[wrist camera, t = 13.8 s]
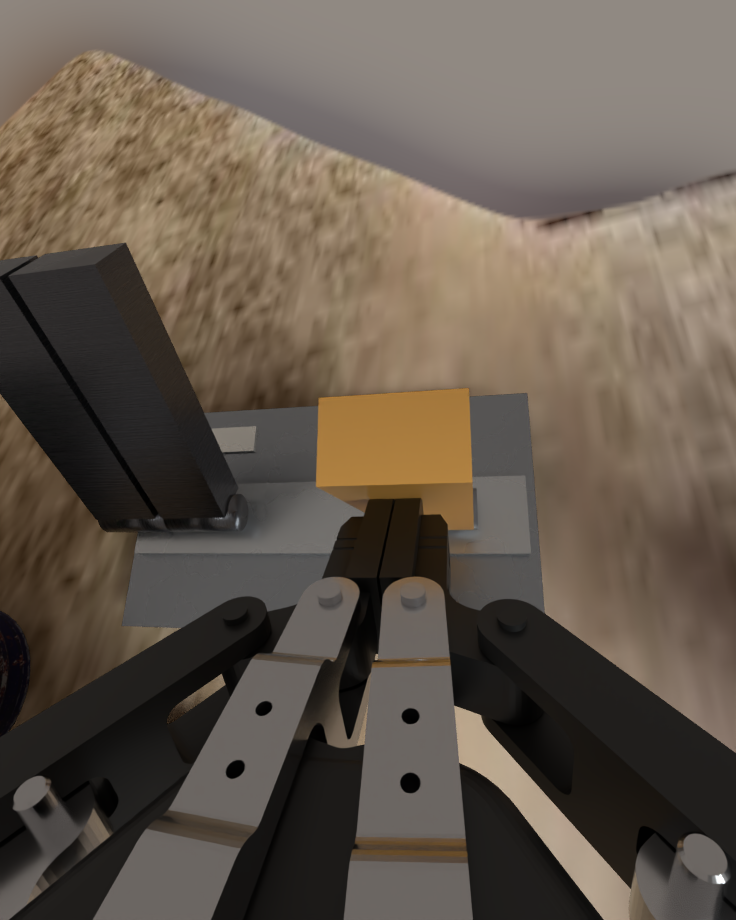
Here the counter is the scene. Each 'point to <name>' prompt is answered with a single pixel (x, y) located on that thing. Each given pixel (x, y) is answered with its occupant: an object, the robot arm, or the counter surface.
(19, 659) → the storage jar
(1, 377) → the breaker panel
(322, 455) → the lever
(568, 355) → the counter surface
